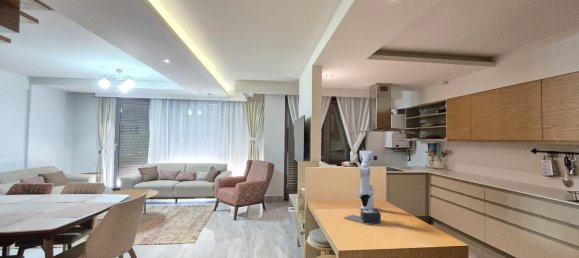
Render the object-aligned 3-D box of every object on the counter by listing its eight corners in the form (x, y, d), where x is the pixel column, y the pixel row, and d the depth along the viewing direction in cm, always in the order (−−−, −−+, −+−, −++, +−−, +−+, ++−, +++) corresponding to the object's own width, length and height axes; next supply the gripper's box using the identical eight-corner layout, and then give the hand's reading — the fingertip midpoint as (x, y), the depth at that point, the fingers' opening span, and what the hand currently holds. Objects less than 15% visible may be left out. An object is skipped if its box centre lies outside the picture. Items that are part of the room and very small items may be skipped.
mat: (352, 215, 173) (352, 214, 173) (376, 221, 160) (376, 221, 160) (343, 218, 166) (343, 217, 166) (368, 225, 153) (368, 224, 153)
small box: (376, 208, 166) (381, 213, 155) (376, 218, 166) (381, 223, 155) (360, 207, 167) (363, 212, 156) (360, 217, 167) (363, 223, 156)
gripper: (364, 187, 160) (364, 209, 159) (375, 185, 170) (375, 205, 169) (354, 186, 165) (354, 207, 164) (366, 183, 175) (366, 203, 174)
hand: (364, 206), depth 167 cm, fingers closed
